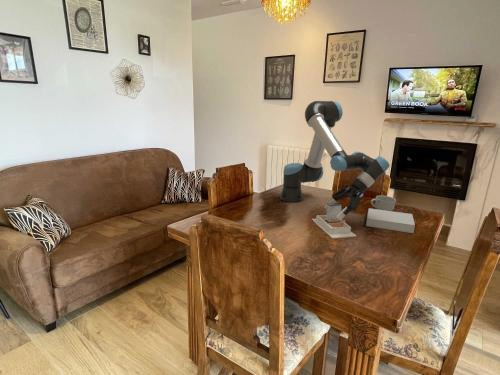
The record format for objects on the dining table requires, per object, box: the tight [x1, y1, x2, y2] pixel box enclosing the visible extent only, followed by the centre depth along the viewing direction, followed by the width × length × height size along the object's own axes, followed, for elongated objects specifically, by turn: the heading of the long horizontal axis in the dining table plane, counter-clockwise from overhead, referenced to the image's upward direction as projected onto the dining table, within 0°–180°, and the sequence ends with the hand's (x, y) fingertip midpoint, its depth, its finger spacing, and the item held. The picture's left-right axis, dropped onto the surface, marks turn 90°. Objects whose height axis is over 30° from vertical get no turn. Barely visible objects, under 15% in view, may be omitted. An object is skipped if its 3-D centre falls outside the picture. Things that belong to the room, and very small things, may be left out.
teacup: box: [370, 194, 397, 211], centre depth 173 cm, size 14×11×8 cm
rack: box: [311, 214, 357, 240], centre depth 148 cm, size 12×24×4 cm, turn 12°
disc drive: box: [364, 207, 416, 234], centre depth 155 cm, size 18×22×5 cm
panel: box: [326, 201, 343, 223], centre depth 147 cm, size 6×3×12 cm, turn 102°
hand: (331, 213), depth 146 cm, fingers open, 13 cm apart
